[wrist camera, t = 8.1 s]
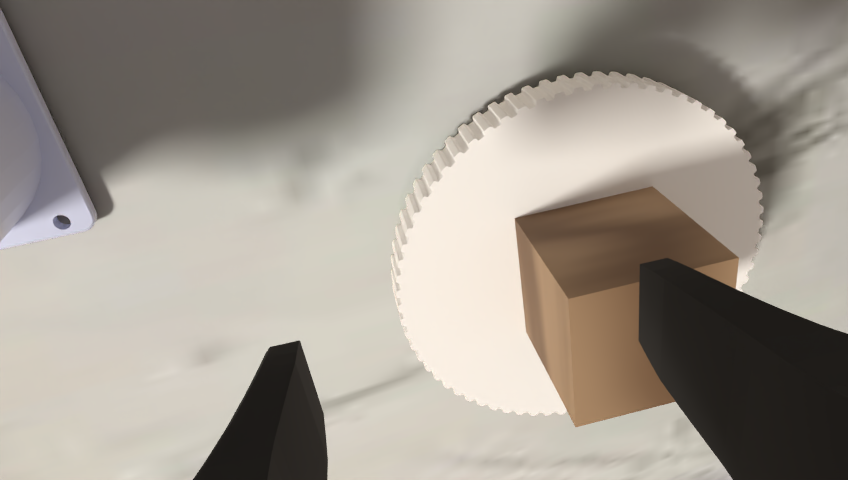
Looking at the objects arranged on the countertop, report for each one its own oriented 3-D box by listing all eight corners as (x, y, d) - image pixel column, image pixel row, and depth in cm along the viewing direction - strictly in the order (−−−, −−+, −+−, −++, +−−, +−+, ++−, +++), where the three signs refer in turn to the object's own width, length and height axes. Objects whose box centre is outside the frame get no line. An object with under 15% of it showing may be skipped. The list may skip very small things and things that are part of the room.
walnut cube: (525, 331, 24) (575, 427, 20) (514, 217, 22) (568, 299, 17) (649, 301, 25) (725, 388, 20) (652, 186, 22) (739, 257, 18)
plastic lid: (583, 411, 30) (605, 451, 28) (322, 309, 25) (325, 349, 23) (790, 172, 26) (835, 198, 24) (525, -16, 20) (553, -5, 18)
